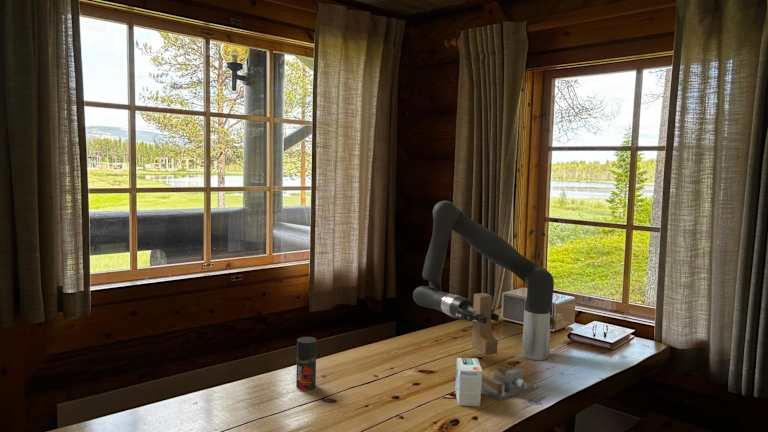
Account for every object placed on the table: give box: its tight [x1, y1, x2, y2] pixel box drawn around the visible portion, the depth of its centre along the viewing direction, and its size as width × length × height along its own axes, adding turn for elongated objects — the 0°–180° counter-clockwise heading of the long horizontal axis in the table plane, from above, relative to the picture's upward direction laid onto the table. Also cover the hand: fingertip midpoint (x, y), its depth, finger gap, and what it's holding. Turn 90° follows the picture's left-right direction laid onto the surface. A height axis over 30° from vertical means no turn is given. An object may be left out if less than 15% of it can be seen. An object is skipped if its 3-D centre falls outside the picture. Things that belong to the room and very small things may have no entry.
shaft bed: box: [481, 368, 535, 401], centre depth 175 cm, size 16×16×7 cm
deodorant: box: [295, 336, 318, 392], centre depth 170 cm, size 6×6×15 cm
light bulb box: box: [454, 357, 483, 407], centre depth 166 cm, size 11×7×11 cm, turn 178°
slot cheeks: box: [481, 365, 525, 393], centre depth 176 cm, size 12×11×2 cm
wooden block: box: [471, 292, 499, 356], centre depth 180 cm, size 9×4×18 cm, turn 20°
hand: (492, 319), depth 178 cm, fingers closed on wooden block, 4 cm apart
